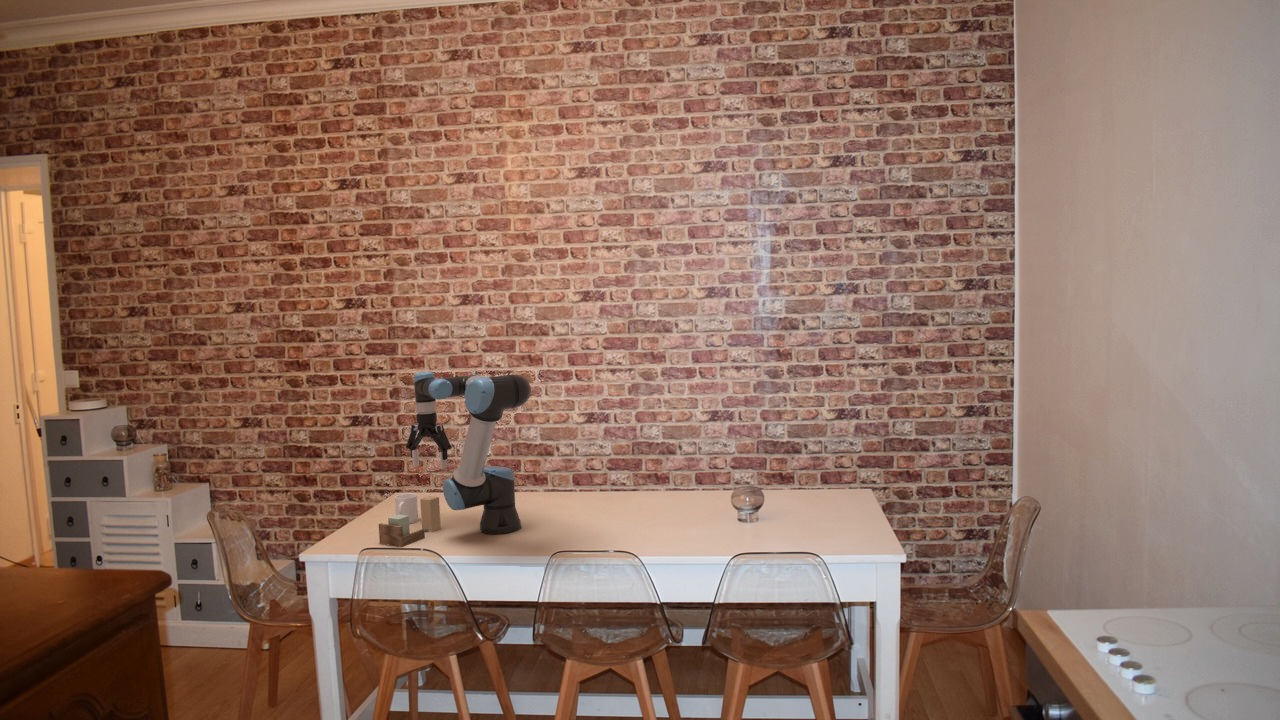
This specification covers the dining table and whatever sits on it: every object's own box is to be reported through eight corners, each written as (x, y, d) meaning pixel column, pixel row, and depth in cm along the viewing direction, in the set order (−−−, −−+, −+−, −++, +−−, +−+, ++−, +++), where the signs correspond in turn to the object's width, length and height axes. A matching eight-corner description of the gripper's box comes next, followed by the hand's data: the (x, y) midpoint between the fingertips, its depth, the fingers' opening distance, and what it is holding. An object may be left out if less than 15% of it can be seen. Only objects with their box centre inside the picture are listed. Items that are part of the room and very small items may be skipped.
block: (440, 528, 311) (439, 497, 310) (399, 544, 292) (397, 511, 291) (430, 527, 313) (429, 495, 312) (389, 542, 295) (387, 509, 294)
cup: (421, 518, 326) (419, 493, 325) (411, 527, 314) (409, 500, 313) (400, 518, 326) (399, 493, 326) (389, 527, 314) (388, 501, 314)
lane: (424, 537, 299) (423, 518, 299) (401, 546, 289) (400, 527, 289) (403, 534, 304) (402, 515, 304) (379, 543, 294) (378, 524, 294)
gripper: (458, 411, 315) (462, 466, 316) (407, 410, 326) (411, 463, 327) (445, 414, 308) (449, 470, 309) (394, 413, 319) (398, 467, 320)
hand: (429, 467), depth 318 cm, fingers open, 13 cm apart
